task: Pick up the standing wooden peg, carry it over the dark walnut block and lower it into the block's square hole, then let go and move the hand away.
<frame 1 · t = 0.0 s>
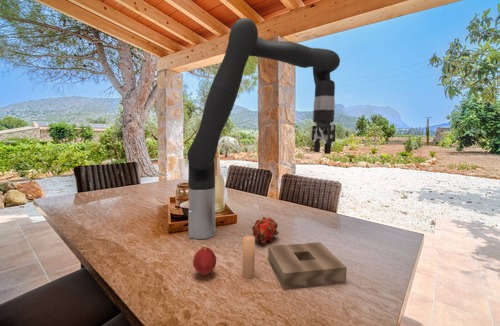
hand: (321, 152, 92), 29 cm above the table, tool pointing down, fingers open, 8 cm apart
dragon fruit: (264, 241, 82), on the table
peg: (248, 275, 62), on the table
hole block: (303, 270, 65), on the table
onion: (205, 275, 62), on the table
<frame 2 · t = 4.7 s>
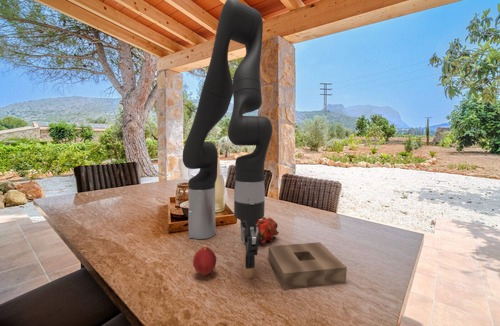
hand: (248, 263, 62), 3 cm above the table, tool pointing down, fingers closed on peg, 3 cm apart
peg: (248, 275, 62), on the table, touching gripper
everything else where it was.
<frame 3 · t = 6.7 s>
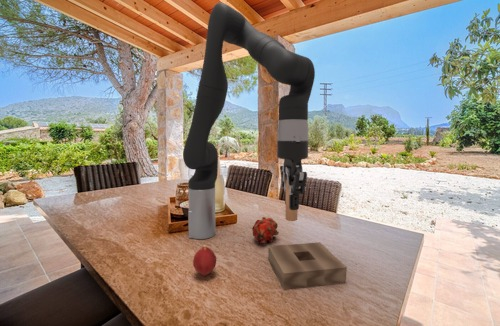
hand: (291, 207, 61), 18 cm above the table, tool pointing down, fingers closed on peg, 3 cm apart
peg: (291, 219, 62), point 15 cm above the table, touching gripper
everything else where it was.
when the fingers open (5 cm above the table, at t = 9.1 s): peg drops 2 cm, resting in hole block.
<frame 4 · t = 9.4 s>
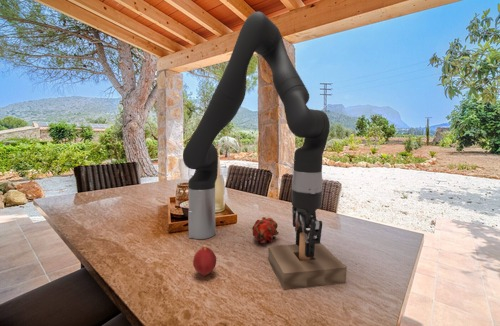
hand: (304, 250, 64), 6 cm above the table, tool pointing down, fingers open, 6 cm apart
peg: (303, 270, 65), resting in hole block
everything else where it was.
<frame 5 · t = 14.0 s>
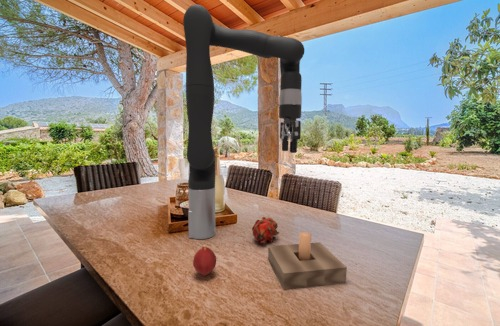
hand: (288, 151, 84), 30 cm above the table, tool pointing down, fingers open, 8 cm apart
nothing on the table moved.
at the end: peg 0.0 cm off-centre on the hole block, point 0.0 cm above the hole block's base; peg tilted 0°; the gripper is holding nothing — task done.
